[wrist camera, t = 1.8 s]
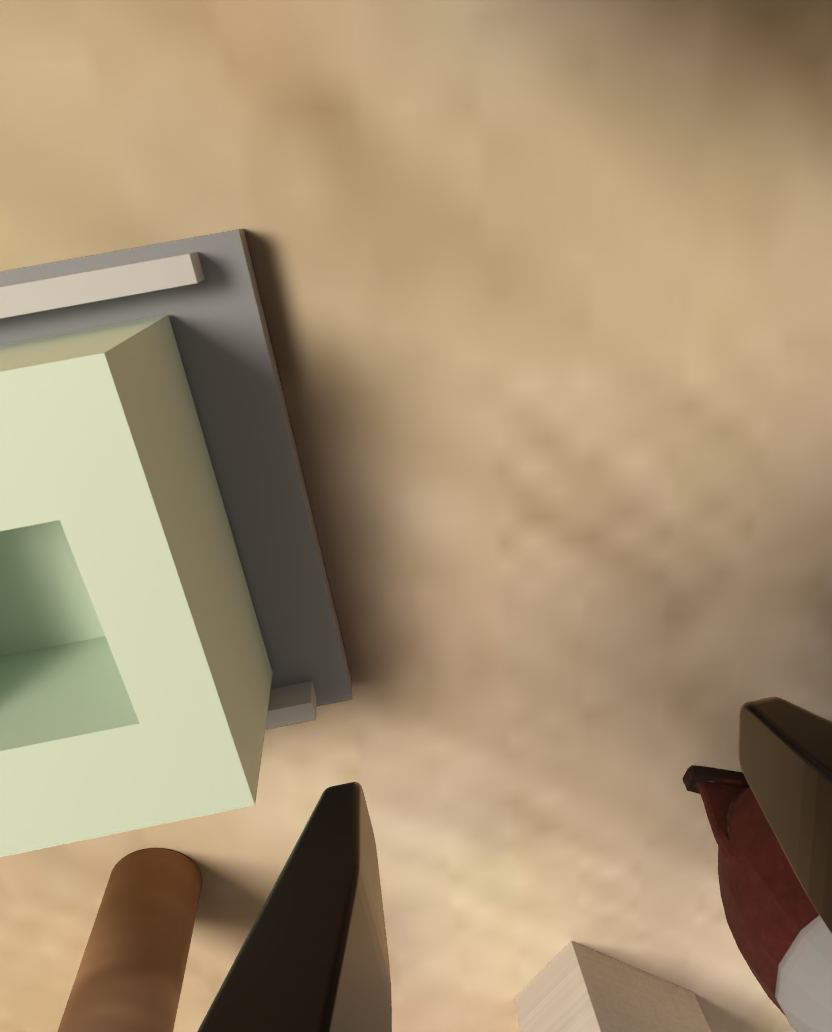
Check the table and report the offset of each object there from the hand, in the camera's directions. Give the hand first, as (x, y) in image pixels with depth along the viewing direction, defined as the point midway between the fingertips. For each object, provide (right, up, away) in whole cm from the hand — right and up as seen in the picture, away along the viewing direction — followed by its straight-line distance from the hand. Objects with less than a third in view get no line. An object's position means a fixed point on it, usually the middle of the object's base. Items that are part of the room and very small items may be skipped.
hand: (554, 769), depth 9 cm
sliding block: (-10, +2, +10) cm, 14 cm away
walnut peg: (-10, -9, +16) cm, 21 cm away
